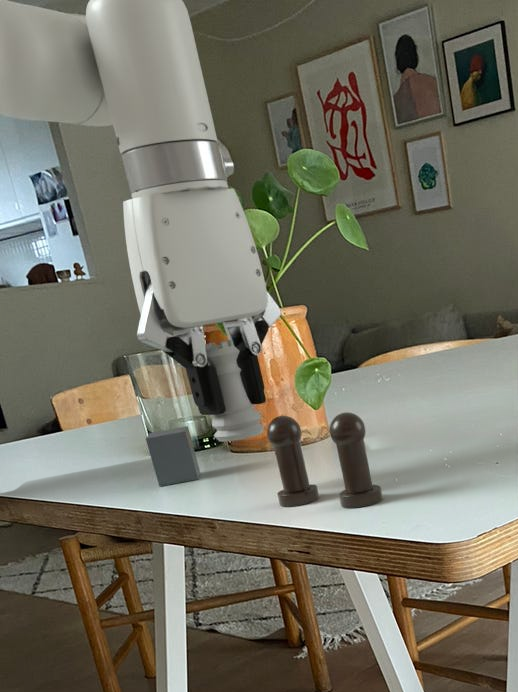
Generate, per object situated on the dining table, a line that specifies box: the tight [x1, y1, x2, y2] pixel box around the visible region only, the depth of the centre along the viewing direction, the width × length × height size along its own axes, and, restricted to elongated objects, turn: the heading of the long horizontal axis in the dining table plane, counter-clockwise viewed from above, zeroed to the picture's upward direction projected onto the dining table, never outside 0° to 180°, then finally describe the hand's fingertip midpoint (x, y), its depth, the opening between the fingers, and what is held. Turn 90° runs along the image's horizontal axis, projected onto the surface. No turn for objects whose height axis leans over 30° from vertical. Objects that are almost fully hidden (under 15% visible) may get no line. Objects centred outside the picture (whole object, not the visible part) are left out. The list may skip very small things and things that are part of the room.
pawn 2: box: [329, 411, 384, 509], centre depth 74 cm, size 3×3×7 cm
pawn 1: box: [266, 415, 320, 508], centre depth 78 cm, size 3×3×7 cm
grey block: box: [145, 425, 201, 487], centre depth 97 cm, size 4×4×5 cm
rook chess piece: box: [205, 339, 265, 443], centre depth 80 cm, size 4×4×8 cm
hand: (233, 406), depth 81 cm, fingers closed on rook chess piece, 3 cm apart
